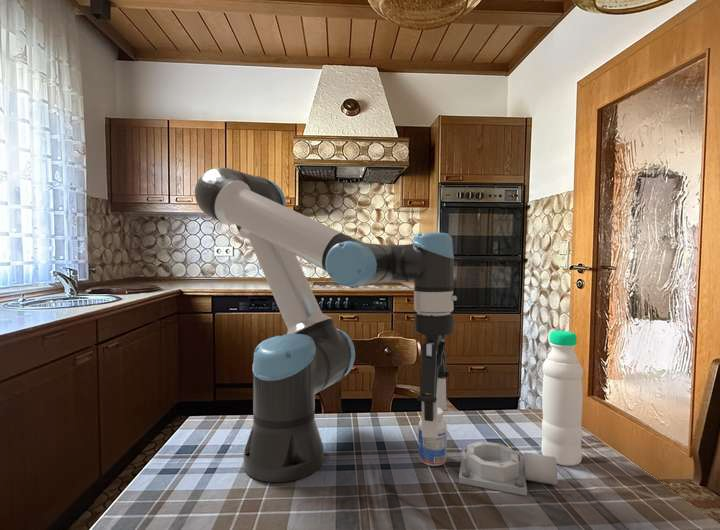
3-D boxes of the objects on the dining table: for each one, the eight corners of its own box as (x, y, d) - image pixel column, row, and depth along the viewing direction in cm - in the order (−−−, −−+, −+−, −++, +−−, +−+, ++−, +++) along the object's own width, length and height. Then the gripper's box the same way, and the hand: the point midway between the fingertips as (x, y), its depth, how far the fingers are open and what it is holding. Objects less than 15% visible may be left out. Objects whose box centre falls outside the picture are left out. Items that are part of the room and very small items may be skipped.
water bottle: (587, 469, 72) (589, 336, 71) (546, 465, 73) (548, 334, 73) (574, 451, 79) (576, 329, 78) (537, 447, 80) (539, 327, 80)
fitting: (458, 483, 67) (459, 458, 67) (462, 453, 78) (463, 431, 78) (560, 502, 62) (561, 475, 62) (550, 467, 73) (550, 444, 72)
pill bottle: (422, 450, 79) (422, 402, 79) (448, 455, 77) (449, 407, 76) (415, 463, 74) (415, 412, 74) (443, 469, 72) (443, 417, 71)
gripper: (446, 323, 62) (448, 455, 62) (458, 306, 85) (459, 401, 85) (400, 321, 64) (402, 448, 64) (424, 305, 88) (425, 397, 88)
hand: (435, 421), depth 75 cm, fingers open, 13 cm apart
